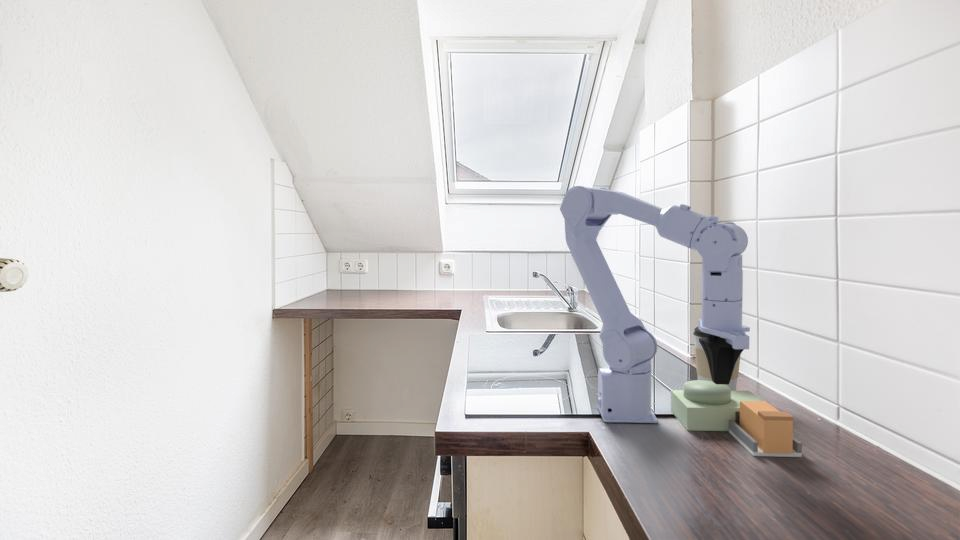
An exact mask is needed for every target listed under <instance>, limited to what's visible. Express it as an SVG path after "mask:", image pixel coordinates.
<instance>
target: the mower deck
mask: <svg viewBox="0 0 960 540" xmlns="http://www.w3.org/2000/svg"><path fill="white" fill-rule="evenodd" d="M740 401H764V399H762V398H761V397H759V396H757V395H756V394H755V393H753V392H752V391H750V390H736V391H732V390H731V388H730V387H728V386H727V385H724V384H715V383H714V382H713V381H706V380H698V379H694V380H687V381H685V382H684V383H683V389H670V412H671V413H672V414H673V415H674V416H675V418H676V419H677V420H678V421H679V422H680V424H681V425H682V426H683V427H684V429H685V430H686V431H694V432H695V431H698V432H700V431H702V432H703V431H704V432H728V433H729V434H730V435H731V436H732V437H733V438H734V439H735V440H736V441H738V443H739V444H740V445H741V446H742V447H744V449H745V450H746V451H748V452H749V454H751V455H752V456H753V457H780V458H781V457H782V458H783V457H784V458H785V457H786V458H789V457H790V458H802V455H803V454H802V453H803V442H802V441H800V440H798V439H797V438H796V437H794V436H793V450H792V453H763V452H762V451H761V450H760V449H759V448H758V442H757V441H756V440H754V439H753V438H752V437H751V436H750V435H749V434H748V433H747V432H746V431H744V430H743V429H742V428H741V427H740Z"/></svg>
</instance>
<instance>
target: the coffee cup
mask: <svg viewBox="0 0 960 540" xmlns="http://www.w3.org/2000/svg"><path fill="white" fill-rule="evenodd" d="M692 335H694V358H695V367H696V374H697V375H696V376H697V380H706V381H712V378H711V374H710V369H709V365H708V361H707V357H706V354H705V352H704V350H703V347H702V345H701V344H700V342H699V338H702V337H708V336H709V334H708V333H704V332H702V331H701V330H699V329H698V326H696V327H695V328H694V331H693V333H692ZM741 355H742V353H741V354H740V356H739V357H738V359H737V361H736V364H735V366H734V370H733V373H732V377H731V380H730V383H729V384H724V385H727V386H728V387H730V388H731V390H732V391H737V384H738V378H739V373H740V372H739V370H740V363H741Z"/></svg>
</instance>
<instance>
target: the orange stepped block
mask: <svg viewBox="0 0 960 540" xmlns="http://www.w3.org/2000/svg"><path fill="white" fill-rule="evenodd" d="M740 427H741V428H742V429H743V430H744V431H746V432H747V433H748V434H749V435H750V436H751V437H752V438H753V439H754V440H756V441H757V442H758V448H759V449H760V450H761V451H762V452H763V453H792V450H793V437H794V416H793V415H791V414H790V413H789V412H787V411H781V410H778V409H777V408H776V407H774V406H773V405H772V404H770V403H769V402H767V401H765V400H763V401H740Z"/></svg>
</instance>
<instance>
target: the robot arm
mask: <svg viewBox="0 0 960 540" xmlns="http://www.w3.org/2000/svg"><path fill="white" fill-rule="evenodd" d="M691 208H692V206H691V205H688V204H684V203H682V204H680V205H679V206H678V205H676V204H675V205H671V206H669V207H667V208H662V207H660V206H656V205H654V204H652V203H650V202H647V201H645V200H642V199H640V198H637V197H635V196H632V195H630V194H628V193H625V192H622V191H618V190H611V189H610V190H609V189H608V188H605V187H600V188H597V187H587V186H582V185H573V186H572V187H570V188H568V190H567V191H566V192H565V194H564V197H563V200H562V201H561V205H560V206H559V210H560V212H561V215H562V217H563V219H564V232H565V233H564V234H565V241H566V242H565V243H566V245H567V247H568V249H569V251H570V254H571V256H572V259H573V261H574V263H575V265H576V268H577V270H578V272H579V274H580V276H581V278H582V280H583V282H584V285H585V287H586V289H587V291H588V294H589V296H590V298H591V300H592V302H593V304H594V306H595V309H596V311H597V314H598V316H599V318H600V320H601V322H602V326H601V329H600V332H599V339H600V341H601V343H602V344H601V345H602V356H603V358H604V361H605V363H606V364H607V365H608V367H607V366H606V367H600V368H598V371H597V408H598V410H599V414H600V416H601V419H602V421H603V422H604V423H636V424H637V423H640V424H641V423H642V424H643V423H644V424H657V423H659V419H658V418H657V417H656V415H655V414H654V412H653V411H652V359H654V358H655V356H656V354H657V352H658V341H657V340H656V337H655V336H654V335H653V334H652V332H650V331H649V330H648V329H647V328H646V327H645V325H644V323H643V321H642V320H641V319H640V318H638V316H636V315H634V314H633V313H632V312H631V310H630V309H629V306H628V305H627V302H626V300H625V298H624V296H623V293H622V291H621V290H620V287H619V285H618V284H617V281H616V279H615V277H614V274H613V273H612V270H611V268H610V267H609V265H608V262H607V260H606V258H605V256H604V254H603V252H602V249H601V248H600V245H599V244H598V243H599V242H598V241H597V238H598V236H599V233H600V231H602V229H603V227H604V226H605V224H606V223H607V222H608V220H609V219H610V218H611V217H612V215H622V216H625V217H628V218H631V219H633V220H637V221H640V222H642V223H645V224H647V225H651V226H653V227H655V229H656V231H657V233H658V235H659V236H660V237H661V238H664V239H666V240H668V241H671V242H672V243H676V244H677V245H681V246H683V247H686V248H688V249H690V250H693V251H697V253H698V254H699V255H700V257H701V258H702V264H701V265H702V270H701V318H698V320H697V321H698V323H697V324H698V325H697V327H698V329H699V330H701V331H702V332H704V333H708V334H709V336H708V337H702V338H699V342H700V344H701V345H702V347H703V350H704V352H705V354H706V357H707V361H708V365H709V369H710V374H711V378H712V381H713V382H714V383H715V384H729V383H730V380H731V377H732V373H733V370H734V366H735V364H736V361H737V359H738V357H739V356H740V357H741V355H742V353H743V351H744V350H750V335H748V334H746V333H747V332H748V333H749V332H750V330H751V329H750V328H751V327H750V326H747V325H743V290H744V289H743V285H744V284H743V283H744V282H743V279H744V278H743V277H744V272H743V271H744V270H743V253H744V252H745V250H746V249H747V247H748V245H749V244H748V243H749V238H748V234H747V233H746V231H745V230H744V228H742V227H741V226H740V225H737V224H736V223H734V222H733V221H732V222H731V221H729V222H721V223H719V220H720V218H719V217H718V216H716V215H713V214H711V215H709V216H708V215H704V214H702V213H699V212H696V211H692V210H691ZM740 354H741V355H740Z"/></svg>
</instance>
